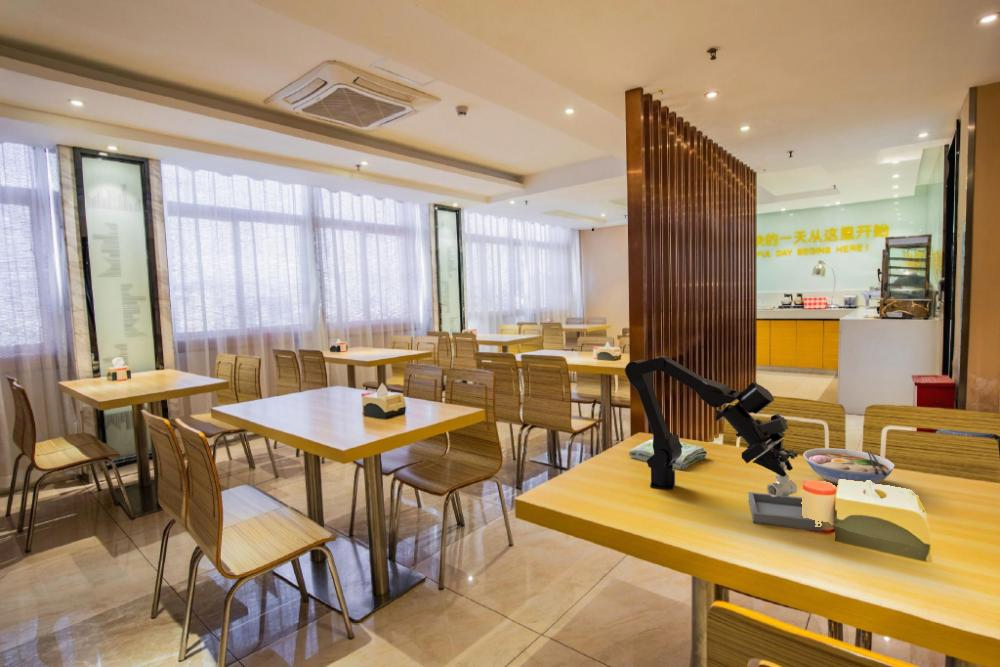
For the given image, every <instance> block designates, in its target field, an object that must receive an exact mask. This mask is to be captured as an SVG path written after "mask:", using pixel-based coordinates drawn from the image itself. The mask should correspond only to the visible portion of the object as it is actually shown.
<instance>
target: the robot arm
mask: <svg viewBox="0 0 1000 667" xmlns="http://www.w3.org/2000/svg"><path fill="white" fill-rule="evenodd" d="M655 371H661V372H663V373H665V375H668V376H670V378H671V377H672V378H673V379H674V380H676V381H678V382H680V383H681V384H682V385H684V386H686V387H688V388H690V389H691V390H693V391H694V392H695V393H696V394H697V396H698V397H699V399H701V400H702V401H704V403H706V404H707V405H708V406H709V407H711V408H721V407H722V406H725V405H726V406H725V407H724V408H722V409H717V410H715V412H716V413H715V414H716V415H715V420H716V421H720V420H722V419H725V420H726V422H728V423H729V425H730V426H731V427H732V428H733V429H734V431H735V432H736V434H735V436H736V437H737V438H740V437H741V439H742V440H744V441H745V443H746V444H747V447H746V449H745V450H744V451H742V452H741V459H742V461H744V462H745V463H746V464H748V463H750V462H752V463H753V464H756V465H759V466H760V467H764V468H765V469H767V470H769V471H771V472H773V473H775V474H779V475H781V476H783V477H784V476H785V475H788V474H787V471H784V469H783V468H782V466H781V465H780V461H778V459H776V458H775V457H774V450H773V448H776V449H780V448H784V441H785V440H784V439H783V438H785V436H786V434H785V433H784V432H786V430H789V427H788V424H787V422H788V420H787V419H785V417H784V416H781V415H780V414H779V413H776V414H774V415H773V414H772V415H771V416H770V420H767V421H764V422H763V421H762V420H760V419H759V418H757V419H755V418H754V417H753V416H752V415H751V413H752V414H755V415H756V414H759V413H760V412H761V411H762V410H764V409H765V408H766V407H768V406H769V405H770V404H772V403H773V402H774V401H775V398H774V396H773V394H772V393H771V392H770V391H769V390H768V388H765V387H764V386H762V385H760V384H758V382H757V381H752V382H750V383H748V386H747V387H746V388H745V389H743V390H742V391H740V390H735V389H731V387H730V386H728V385H726V384H724V383H722V382H719V381H716V380H712V379H708V378H705V377H703V376H701V375H700V374H698V373H695V372H694V371H692V370H691V369H689V368H687V367H685V366H684V365H682V364H680V363H679V362H677V361H675V360H673V359H672V358H671V357H669V356H668V355H660V356H657V357H655V358H652V359H649V360H645V359H639V360H634V361H630V362H628V363H626V366H625V368H624V373H625V376H626V378H627V379H628V381H629V383H630V385H631V386H632V387H634V388H635V390H636V391H637V394H638V396H639V400H640V402H641V404H642V407H643V410H644V413H645V415H646V418H647V422H648V423H649V427H650V430H651V433H652V439H653V450H654V455H653V456H651V457H650V458H649V459H648V460H647V462H646V463H647V464H646V465H647V466H648V468H649V469H650V485H649V487H650V488H654V489H656V488H657V489H664V490H673V489H674V486H675V484H676V469H674V468H673V464H674V463H675V462H676V460H677V459H678V458H679V457H680V456H681V454H682V450H681V448H682V447H683V446H682V445H681V444H680V441H681V440H680V438H679V435H678V434H675V435H674V434H672V432H671V431H670V430H669V428H668V425H667V422H666V420H665V417H664V413H663V411H662V409H661V406H660V403H659V401H658V398H657V397H658V396H657V395H656V392H655V390H654V386H653V382H654V374H653V373H654V372H655ZM736 401H737V402H736ZM735 402H736V403H735ZM732 403H735V404H732ZM727 404H728V405H727ZM781 439H782V440H781ZM778 453H779V452H778ZM777 457H778V455H777ZM752 460H753V461H752ZM785 465H786V466H787V470H788V471H792V470H793V468H794V467H793V465H792V463H791V462H790V460H789V459H787V462H785Z"/></svg>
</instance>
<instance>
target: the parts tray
mask: <svg viewBox="0 0 1000 667" xmlns="http://www.w3.org/2000/svg"><path fill="white" fill-rule="evenodd" d="M802 497H803V496H802ZM802 497H801V496H792V495H789V496H787V497H779V496H778V497H773V498H772V497H771V496H770V495H769V494H768V493H764V492H763V493H762V492H754V491H748V500H747V501H748V503H749V505H748V506H749V509H750V514H751V517H752V521H753V524H758V525H764V526H765V525H766V526H774V527H775V526H776V527H782V528H791V529H801V530H807V531H816V532H823V528H824V526H823V525H822V526H821V527H815V525H816V524H815V520H812V519H809V518H803V516H802V504H801V502H802ZM818 522H819V521H818ZM821 523H823V520H822V522H821ZM823 524H824V523H823ZM818 526H820V524H818Z"/></svg>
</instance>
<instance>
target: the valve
mask: <svg viewBox="0 0 1000 667" xmlns="http://www.w3.org/2000/svg"><path fill="white" fill-rule="evenodd" d="M773 450H774V457H775V458H776V459H778V461H780V465H781V466H782V468H783V469H784V471H785V472H787V466H786V465H785V462H787V459H788V460H789V459H791V460H795V458H798V456H799V455H798V454H799V453H798V452H796V451H794V450H793V449H788V450H787V449H785V448H784V447H783V448H780V449H776V448H773ZM778 452H779V453H778ZM777 455H778V457H777ZM775 479H776V481H774V482H772V483H767V485H766V491H767V494H769V495H770V496H771V497H772V498H773V497H778V496H779V497H787V496H791V495H793V494H797V493H798V486H797V484H796V482H794V481H793V480H792V479H790V476H789V474H787V475H785V476H784V477H783V476H781V475H779V474H777V473H775Z"/></svg>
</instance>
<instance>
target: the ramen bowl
mask: <svg viewBox="0 0 1000 667" xmlns="http://www.w3.org/2000/svg"><path fill="white" fill-rule="evenodd" d="M802 455H803V457H804V459H805V461H806V463H807V464H808V465H809V467H810V468H811V469H812V471H814V473H815V474H817V475H818V476H820V477H822V478H824V479H825V480H828V481H830V482H832V483H834V484H836V485H838V484H837V483H838V480H839V479H846V480H854V481H863V482H865V481H866V480H871V481H872V482H873V483H875V484H878V483H880V482H882V481H884V480H885V479H886V478H887V477H889V475H890V474H891V473H892V472H893V470H894V468H895V466H896V464H894V462H892V461H891V460H890V459H888V458H885V457H883V456H879V455H878V454H873V452H872V451H871V450H870V449H869V450H868V449H866V452H864V451H860V450H853V449H845V448H832V447H826V448H825V447H824V448H812V449H809V450H806V451H804V452H803V453H802Z"/></svg>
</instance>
